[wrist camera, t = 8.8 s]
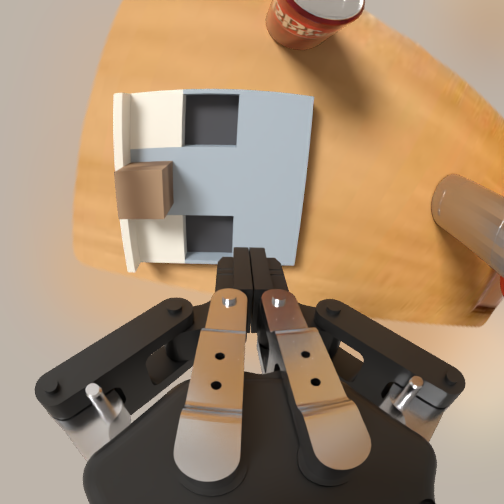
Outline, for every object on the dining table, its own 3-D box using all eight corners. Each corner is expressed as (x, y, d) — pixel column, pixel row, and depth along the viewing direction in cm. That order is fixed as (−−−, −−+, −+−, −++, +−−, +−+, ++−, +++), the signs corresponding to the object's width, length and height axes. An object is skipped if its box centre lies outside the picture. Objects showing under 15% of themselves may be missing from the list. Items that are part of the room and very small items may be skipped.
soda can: (309, 61, 26) (347, 39, 16) (253, 33, 24) (265, -6, 14) (334, 20, 24) (379, -11, 13) (282, -8, 22) (305, -54, 11)
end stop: (130, 93, 25) (122, 92, 22) (140, 262, 34) (135, 272, 32) (122, 94, 25) (113, 93, 22) (133, 261, 34) (127, 271, 32)
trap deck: (308, 97, 29) (314, 96, 26) (290, 256, 38) (294, 265, 36) (129, 95, 27) (122, 94, 25) (138, 252, 37) (133, 261, 34)
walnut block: (172, 160, 29) (161, 169, 24) (173, 203, 31) (164, 219, 27) (130, 162, 28) (114, 171, 24) (133, 203, 31) (118, 219, 26)
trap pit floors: (239, 95, 28) (239, 95, 28) (232, 251, 37) (232, 252, 37) (186, 95, 28) (186, 95, 27) (187, 250, 37) (187, 251, 37)
